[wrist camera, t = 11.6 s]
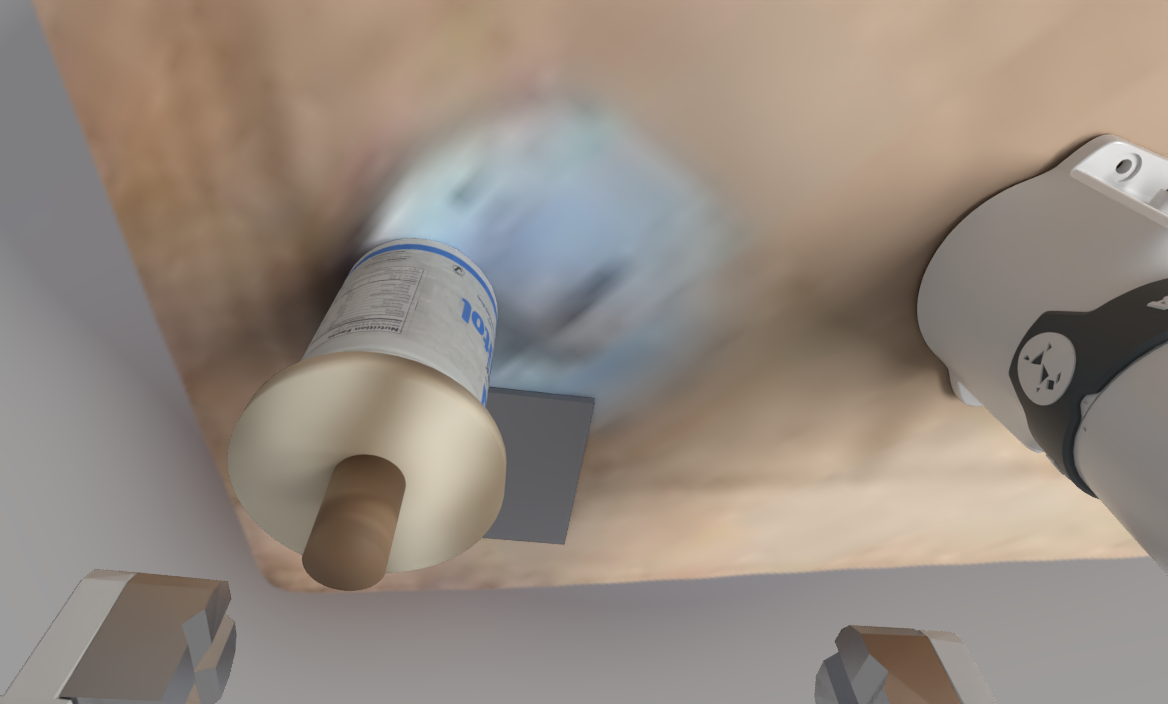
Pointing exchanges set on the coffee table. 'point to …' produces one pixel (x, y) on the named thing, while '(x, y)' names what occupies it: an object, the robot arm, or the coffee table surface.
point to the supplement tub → (416, 311)
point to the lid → (367, 465)
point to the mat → (539, 461)
